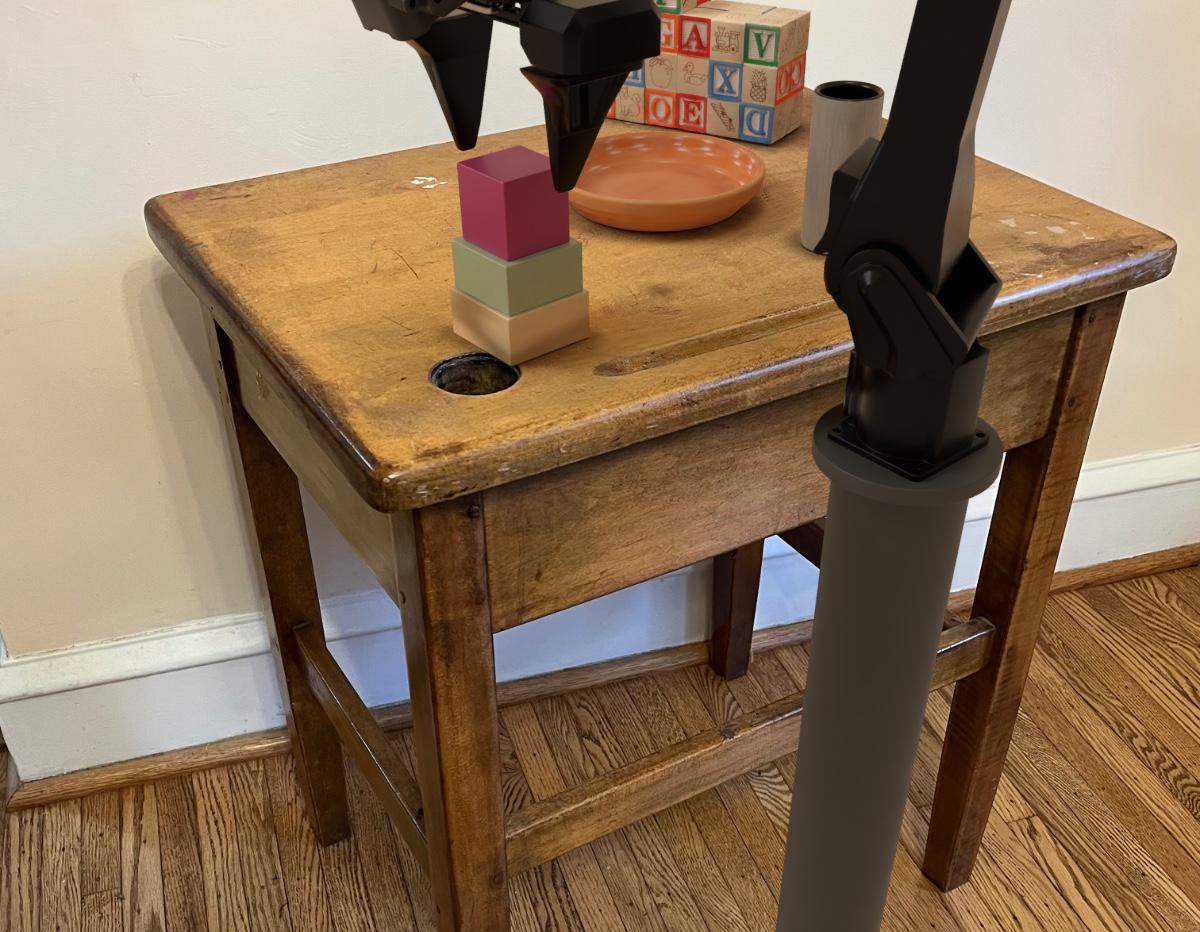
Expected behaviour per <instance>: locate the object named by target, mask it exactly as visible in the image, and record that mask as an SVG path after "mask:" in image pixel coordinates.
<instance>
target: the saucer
mask: <svg viewBox="0 0 1200 932" xmlns="http://www.w3.org/2000/svg"><path fill="white" fill-rule="evenodd" d="M766 173H767V167H766V164H765V161H764V160H763V158H762V157H761V156H760V155H759V154H758V153H756V152H755V151H754V150H751V149H750V148H748V147H746V146H744V145H742V144H739V143H737V142H734V141H730V140H728V139H724V138H721V137H717V136H713V135H712V136H711V135H707V134H699V133H692V132H681V131H680V132H679V131H631V132H622V133H615V134H608V135H603V136H597V138H596V140H595V142H594V145H593V147H592V149H591V152H590V154H589V156H588V158H587V161H586V163H585V165H584V167H583V170H582V172H581V174H580V177H579V179H578V181H577V183H576V186H575V188H574V189H573V190H571V191H568V194H569V206H571V207H572V208H573V209H574V210H575V211H576V212H577V213H578V214H579V215H581V216H583V217H585V218H586V219H588V220H589V221H592V222H595V223H598V224H601V225H604V226H607V227H611V228H616V229H620V230H626V231H627V230H628V231H637V232H658V233H659V232H675V231H676V232H677V231H678V232H679V231H686V230H694V229H698V228H704V227H707V226H711V225H714V224H718V223H719V222H722V221H724V220H726V219H728V218H729V217H731V216H733V215H734V214H735V213H736V212H737V211H738V210H739V209H741V208H742V207H743V206H745V205H746V204H747V203H749V202H750V201H751V200H752V198H753V197H754V196H756V195H757V193H759V192H760V191H761V189H762V187H763V184H764V181H765V177H766Z"/></svg>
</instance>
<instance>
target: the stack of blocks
mask: <svg viewBox="0 0 1200 932" xmlns="http://www.w3.org/2000/svg"><path fill="white" fill-rule="evenodd" d="M653 1H654V2H655V4H656V5H657V6H658V7H659V9H660V10H661V11H662V20H661V54H660V56H656V57H652V58H648V59H644V65H643V68H642V69H640V70H636V71H632V72H630V73H629V75H628V77H627V79H626V81H625V82H624V84H623V86H622V88H621V90H620V92H619V93H618V95H617V97H616V99H615V101H614V102H613V104H612V106H611V108H610V110H609V112H608V114H607V116H606V118H608V119H615V120H620V121H621V120H622V121H626V122H632V123H637V124H648V125H656V126H660V127H666V128H671V129H678V130H683V131H690V132H694V133H695V132H696V133H701V134H708V135H712V136H719V137H725V138H731V139H739V140H741V141H746V142H753V143H759V144H765V145H772V144H774V143H775V142H777V141H779V140H781V139H782V138H783V137H785V136H786V135H788V134H790V133H791V132H792V131H794V130H796V129H797V128H799V127H800V126H801V123H802V117H803V116H802V114H803V99H804V89H805V83H806V82H805V81H806V69H807V51H808V48H809V41H810V40H809V38H810V29H811V15H812V13H811V12H812V11H811V10H806V9H797V8H788V7H782V6H781V7H780V6H779V7H777V6H776V5H767V4H758V3H750V2H742V1H734V0H653Z"/></svg>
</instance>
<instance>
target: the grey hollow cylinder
mask: <svg viewBox="0 0 1200 932" xmlns="http://www.w3.org/2000/svg"><path fill="white" fill-rule="evenodd" d="M884 103H885V90H884V89H883V87H881V86H879V85H877V84H874V83H870V82H867V81H861V80H850V79H849V80H848V79H847V80H845V79H844V80H831V81H827V82H823V83H820V84H818V85H816V86H815V88H814V90H813V95H812V106H811V117H810V118H811V119H810V129H809V139H808V140H809V141H808V151H807V162H806V173H805V182H804V193H803V195H804V196H803V205H802V206H803V207H802V216H801V227H800V228H801V229H800V243H801V245H802V246H803V247H804V248H805V249H807V250H809V251H811V252H814V248H815V247H816V245H817V244H818V242H819V241H820V239H821V238H822V237H823V234H824V231H825V229H826V226H827V223H828V216H829V201H830V188H831V182H832V177H833V173H834V172H835V171H836V170H837V168H838V167H839V166H840V165H841V164H842V163H843V162H844V161H845V160H846V159H847V158H848V157H849V156H850V155H851V154H852V153H853V152H854V151H855V149H856V148H857V147H858V146H859V145H860V144H861V143H862V142H863V141H864V140H865V139H866V138H867V137H868V136H870V137H872V138H874V139H877V140H879V141H880V134H881V125H882V118H883V110H884ZM827 253H828V252H826V253H822V254H821V255H827Z"/></svg>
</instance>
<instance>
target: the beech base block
mask: <svg viewBox="0 0 1200 932" xmlns="http://www.w3.org/2000/svg"><path fill="white" fill-rule="evenodd" d="M449 295H450V296H449V297H450V304H451V306H450V307H451V317H452V329H453V333H454V335H457V336H459V337H460V338H462V339H464V340H466V341H467V342H468V343H470V344H472V345H474V346H476V347H478V348H479V349H480V350H483V351H484V352H486V353H488V354H489V355H491V356H493V357H494V358H496V359H498V360H499V361H501V362H502V363H505V364H506V365H508V366H509V367H515V366H518V365H520V364H522V363H525V362H528V361H530V360H533V359H535V358H538V357H540V356H543V355H546V354H548V353H550V352H553V351H557V350H559V349H561V348H564V347H567V346H568V345H572V344H574V343H576V342H579V341H582V340H584V339H587V338H589V337H590V335H591V333H590V332H591V331H590V330H591V329H590V291H589V290H587V289H585V288H583V290H582V291H579V292H577V293H574V294H571V295H568V296H566V297H563V298H560V299H557V300H554V301H552V302H549V303H546V304H543V305H541V306H538V307H535V308H532V309H529V310H527V311H524V312H521V313H518V314H516V315H513V316H507V315H506V314H504V313H502V312H500V311H498V310H496V309H495V308H493V307H491V306H489V305H487V304H486V303H484V302H482V301H480V300H478V299H477V298H475V297H473V296H471V295H469V294H467V293H466V292H464V291H462V290H460V289H458V288H457V287H456V286H455V285H453V286H450V287H449Z"/></svg>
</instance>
